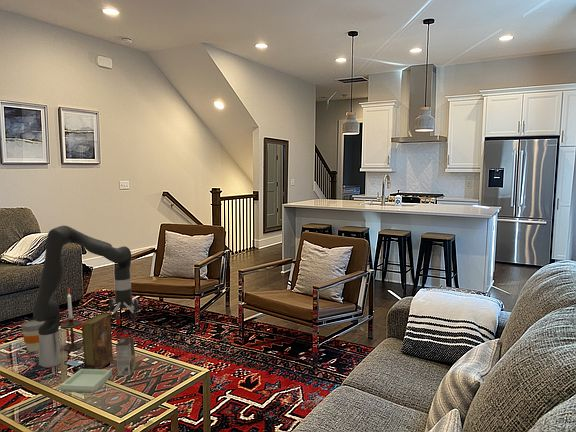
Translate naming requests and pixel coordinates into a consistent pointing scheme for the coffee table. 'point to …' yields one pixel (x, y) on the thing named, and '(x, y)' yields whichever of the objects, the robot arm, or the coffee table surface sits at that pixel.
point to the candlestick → (71, 327)
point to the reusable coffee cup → (31, 334)
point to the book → (97, 342)
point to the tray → (86, 380)
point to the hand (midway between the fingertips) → (125, 319)
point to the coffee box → (125, 356)
